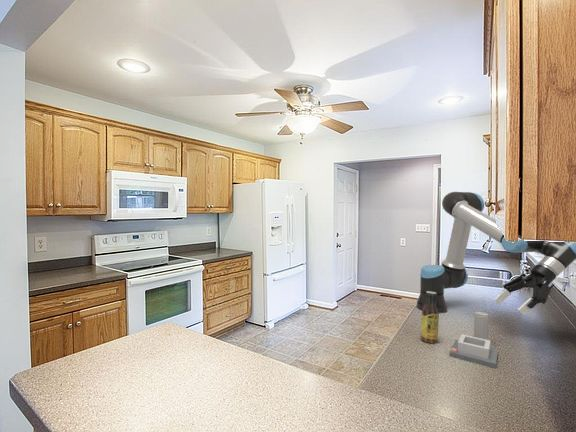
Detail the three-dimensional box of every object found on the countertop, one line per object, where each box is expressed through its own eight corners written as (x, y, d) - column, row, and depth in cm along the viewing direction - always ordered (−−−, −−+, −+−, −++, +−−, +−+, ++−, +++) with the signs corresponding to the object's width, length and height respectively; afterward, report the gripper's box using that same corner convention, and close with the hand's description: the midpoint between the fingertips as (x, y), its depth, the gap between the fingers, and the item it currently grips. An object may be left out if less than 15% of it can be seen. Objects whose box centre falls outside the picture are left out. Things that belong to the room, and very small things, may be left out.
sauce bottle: (428, 344, 122) (429, 294, 122) (417, 338, 128) (418, 290, 128) (441, 343, 124) (442, 293, 123) (430, 337, 130) (431, 290, 129)
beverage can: (474, 339, 128) (475, 310, 128) (488, 342, 125) (489, 313, 124) (472, 343, 124) (473, 313, 124) (487, 346, 121) (487, 316, 121)
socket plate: (455, 343, 123) (456, 331, 123) (497, 353, 115) (498, 340, 115) (449, 356, 112) (449, 342, 112) (495, 368, 104) (496, 353, 104)
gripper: (582, 284, 111) (539, 324, 111) (529, 271, 136) (494, 304, 136) (568, 269, 111) (525, 310, 111) (517, 259, 136) (482, 292, 136)
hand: (508, 307), depth 124 cm, fingers open, 13 cm apart
